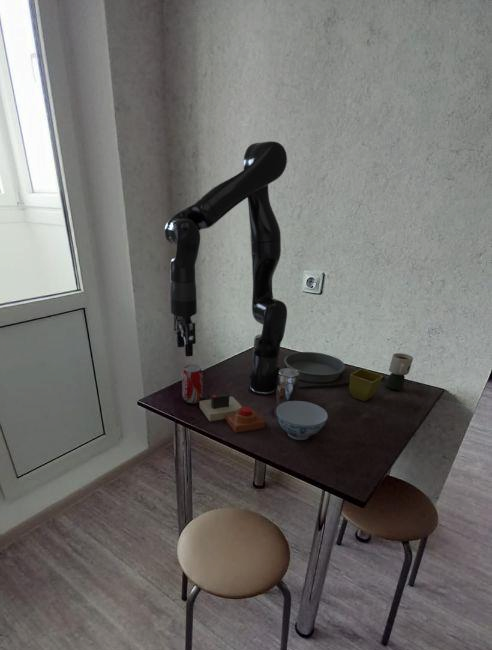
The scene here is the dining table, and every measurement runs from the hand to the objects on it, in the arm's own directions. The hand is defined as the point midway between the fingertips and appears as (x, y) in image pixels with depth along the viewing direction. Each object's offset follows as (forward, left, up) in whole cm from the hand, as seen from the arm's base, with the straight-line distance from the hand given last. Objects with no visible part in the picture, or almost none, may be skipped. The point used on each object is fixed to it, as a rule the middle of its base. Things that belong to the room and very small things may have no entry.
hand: (184, 351), depth 123 cm
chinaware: (-28, +26, -21) cm, 43 cm away
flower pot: (-64, +11, -21) cm, 68 cm away
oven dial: (-10, +6, -18) cm, 21 cm away
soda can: (-5, -6, -21) cm, 22 cm away
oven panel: (-11, +5, -21) cm, 24 cm away
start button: (-15, +15, -17) cm, 27 cm away
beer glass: (-30, +13, -21) cm, 39 cm away
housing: (-15, +15, -21) cm, 29 cm away
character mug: (-82, +8, -21) cm, 85 cm away
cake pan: (-60, -15, -21) cm, 65 cm away
